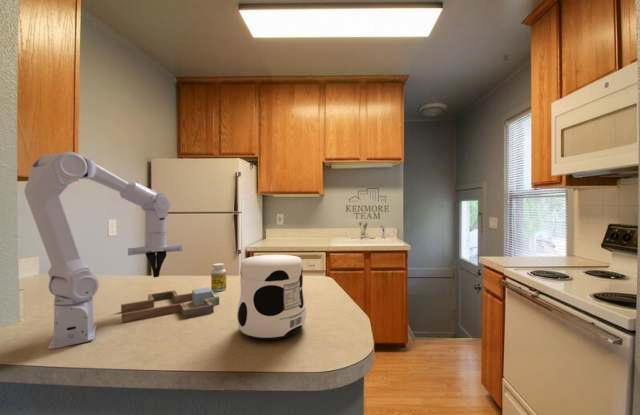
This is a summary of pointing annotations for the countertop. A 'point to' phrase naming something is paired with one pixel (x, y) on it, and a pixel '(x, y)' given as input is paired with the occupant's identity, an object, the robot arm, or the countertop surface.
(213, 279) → the supplement bottle
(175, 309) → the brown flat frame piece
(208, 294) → the block
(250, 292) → the milk container
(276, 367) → the countertop surface
